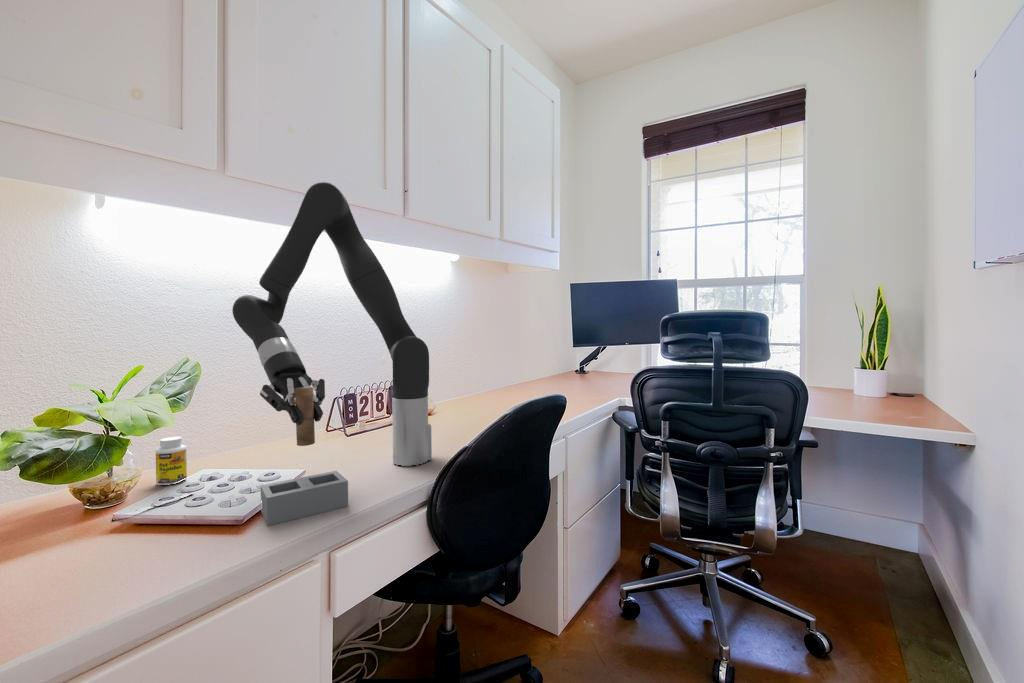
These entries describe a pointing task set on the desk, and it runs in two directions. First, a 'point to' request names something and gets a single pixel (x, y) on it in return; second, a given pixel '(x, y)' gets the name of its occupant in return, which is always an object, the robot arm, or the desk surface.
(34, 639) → the desk surface
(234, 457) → the desk surface
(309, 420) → the walnut pin
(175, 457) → the supplement bottle
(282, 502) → the bore block
